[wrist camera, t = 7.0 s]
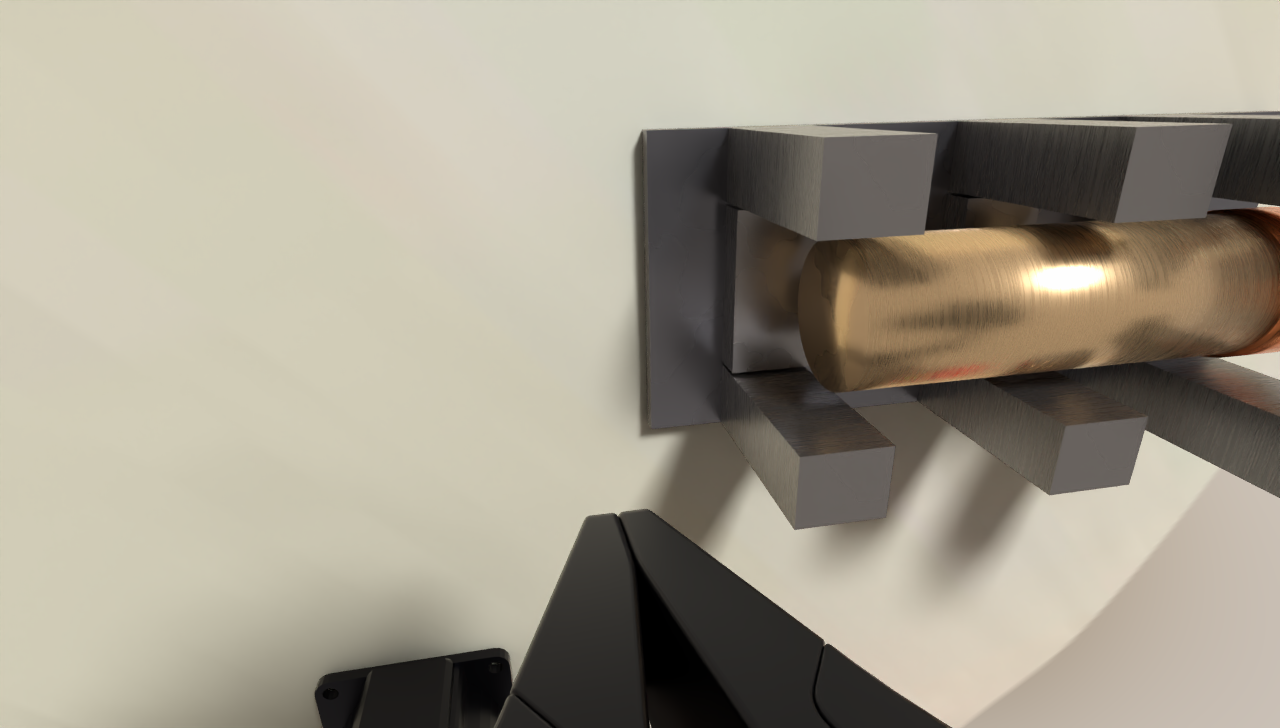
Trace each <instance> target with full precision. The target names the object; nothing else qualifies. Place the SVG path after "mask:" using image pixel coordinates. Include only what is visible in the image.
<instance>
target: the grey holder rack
mask: <svg viewBox="0 0 1280 728" xmlns="http://www.w3.org/2000/svg"><path fill="white" fill-rule="evenodd" d="M642 136H643V189H644V243H645V296H646V350H647V403H648V422H649V425H650V427H651V429H657V428H667V427H676V426H686V425H695V424H705V423H714V422H721V423H722V424H723V426H724V427H725V429H726V430H727V431H728V433H729V434H730V436H731V437H732V439H733V440H734V442H735V443H736V445H737V446H738V448H739V449H740V451H741V452H742V454H743V455H744V456H745V458H746V459H747V461H748V462H749V464H750V465H751V467H752V468H753V470H754V471H755V473H756V474H757V476H758V477H759V478H760V480H761V481H762V483H763V484H764V486H765V487H766V489H767V490H768V492H769V493H770V495H771V496H772V498H773V499H774V500H775V502H776V503H777V505H778V506H779V508H780V509H781V511H782V512H783V514H784V515H785V517H786V518H787V520H788V521H789V523H790V524H791V525H792V527H793V528H794V530H797V529H804V528H812V527H819V526H827V525H834V524H841V523H849V522H856V521H863V520H871V519H878V518H885V517H886V513H887V506H888V498H889V491H890V483H891V476H892V469H893V461H894V454H895V445H894V444H893V443H892V442H890V441H889V440H888V439H887V438H886V437H885V436H883V435H882V434H881V433H880V432H879V431H878V430H877V429H875V428H874V427H873V426H872V425H871V424H870V423H869V422H867V421H866V420H865V419H864V418H863V417H862V416H861V415H859V414H858V413H857V412H856V411H855V410H854V409H853V408H856V407H866V406H875V405H885V404H894V403H904V402H913V401H918V402H920V403H921V404H923V405H924V406H925V407H927V408H928V409H930V410H931V411H932V412H934V413H935V414H937V415H938V416H939V417H941V418H942V419H944V420H945V421H946V422H948V423H949V424H951V425H952V426H953V427H955V428H956V429H958V430H959V431H960V432H962V433H963V434H965V435H966V436H967V437H969V438H970V439H972V440H973V441H974V442H976V443H977V444H979V445H980V446H981V447H983V448H984V449H985V450H987V451H988V452H990V453H991V454H992V455H994V456H995V457H997V458H998V459H999V460H1001V461H1002V462H1004V463H1005V464H1006V465H1008V466H1009V467H1011V468H1012V469H1013V470H1015V471H1016V472H1018V473H1019V474H1020V475H1022V476H1023V477H1025V478H1026V479H1027V480H1029V481H1030V482H1032V483H1033V484H1034V485H1036V486H1037V487H1039V488H1040V489H1041V490H1043V491H1044V492H1046V493H1047V494H1048V495H1055V494H1062V493H1069V492H1077V491H1084V490H1092V489H1099V488H1106V487H1114V486H1121V485H1128V484H1129V483H1130V479H1131V476H1132V472H1133V469H1134V465H1135V462H1136V458H1137V455H1138V451H1139V448H1140V444H1141V441H1142V438H1143V434H1144V431H1145V430H1147V431H1149V432H1151V433H1153V434H1155V435H1156V436H1158V437H1160V438H1162V439H1164V440H1166V441H1168V442H1170V443H1172V444H1174V445H1176V446H1178V447H1180V448H1182V449H1184V450H1186V451H1188V452H1190V453H1192V454H1194V455H1196V456H1198V457H1200V458H1202V459H1204V460H1206V461H1208V462H1210V463H1212V464H1214V465H1216V466H1218V467H1220V468H1222V469H1224V470H1226V471H1228V472H1230V473H1232V474H1234V475H1235V476H1238V477H1239V478H1241V479H1243V480H1245V481H1247V482H1249V483H1251V484H1253V485H1255V486H1257V487H1259V488H1261V489H1263V490H1265V491H1267V492H1269V493H1271V494H1273V495H1275V496H1277V497H1279V498H1280V380H1278V379H1275V378H1272V377H1270V376H1267V375H1264V374H1261V373H1258V372H1255V371H1253V370H1250V369H1247V368H1244V367H1241V366H1239V365H1236V364H1233V363H1230V362H1227V361H1224V360H1222V359H1219V358H1211V357H1203V356H1196V357H1186V358H1177V359H1167V360H1157V361H1147V362H1137V363H1127V364H1117V365H1107V366H1097V367H1087V368H1078V369H1068V370H1058V371H1048V372H1038V373H1028V374H1018V375H1008V376H998V377H988V378H978V379H969V380H959V381H949V382H939V383H929V384H919V385H909V386H899V387H889V388H879V389H870V390H860V391H850V392H840V393H835V392H831V391H829V390H827V389H826V388H824V387H823V386H822V385H821V384H820V383H819V382H818V380H817V379H816V378H815V376H814V374H813V373H812V371H811V369H810V367H809V364H808V362H807V359H806V357H805V353H804V350H803V346H802V342H801V337H800V331H799V323H798V291H799V283H800V277H801V273H802V269H803V265H804V262H805V260H806V257H807V255H808V253H809V251H810V250H811V248H812V247H813V245H814V244H815V243H816V242H817V241H827V240H843V239H860V238H876V237H893V236H910V235H924V232H925V231H930V230H947V229H964V228H981V227H998V226H1015V225H1031V224H1048V223H1065V222H1082V221H1099V220H1100V221H1106V222H1111V223H1125V222H1142V221H1158V220H1175V219H1191V218H1206V215H1207V211H1212V210H1224V209H1241V208H1257V206H1258V203H1260V204H1268V205H1275V206H1280V111H1255V112H1221V113H1187V114H1153V115H1120V116H1086V117H1052V118H1018V119H984V120H950V121H916V122H882V123H848V124H814V125H780V126H746V127H712V128H678V129H644V130H642Z"/></svg>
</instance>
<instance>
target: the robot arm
mask: <svg viewBox="0 0 1280 728" xmlns="http://www.w3.org/2000/svg"><path fill="white" fill-rule="evenodd" d="M494 662H499V664H497V665H495V664H491V663H494ZM328 688H334V689H336V690H329V689H328ZM315 699H316V703H317V706H318V710H319V714H320V717H321V721H322V725H323V728H650V724H651V727H652V728H952V727H950V726H949V725H947V724H945V723H944V722H942V721H941V720H939V719H937V718H936V717H934V716H933V715H931V714H930V713H928V712H927V711H925V710H923V709H922V708H920V707H919V706H917V705H916V704H914V703H913V702H911V701H909V700H908V699H906V698H905V697H903V696H902V695H900V694H899V693H897V692H895V691H894V690H893V689H891V688H890V687H888V686H887V685H885V684H884V683H883V682H881V681H880V680H878V679H877V678H876V677H874V676H873V675H871V674H870V673H869V672H867V671H866V670H864V669H863V668H861V667H860V666H859V665H857V664H856V663H854V662H853V661H852V660H850V659H849V658H848V657H846V656H845V655H844V654H842V653H841V652H840V651H838V650H837V649H836V648H834V647H833V646H832V645H830V644H826V645H825V642H824V640H823V639H822V638H821V637H819V636H818V635H817V634H815V633H814V632H812V631H811V630H810V629H808V628H807V627H806V626H804V625H803V624H802V623H800V622H799V621H798V620H796V619H795V618H794V617H792V616H791V615H790V614H788V613H787V612H786V611H784V610H783V609H782V608H780V607H779V606H778V605H776V604H775V603H774V602H772V601H771V600H770V599H768V598H767V597H766V596H764V595H763V594H762V593H760V592H759V591H758V590H756V589H755V588H754V587H752V586H751V585H750V584H748V583H747V582H746V581H744V580H743V579H742V578H740V577H739V576H738V575H736V574H735V573H734V572H732V571H731V570H730V569H728V568H727V567H726V566H724V565H723V564H722V563H720V562H719V561H717V560H716V559H715V558H713V557H712V556H711V555H709V554H708V553H707V552H705V551H704V550H703V549H701V548H700V547H699V546H697V545H696V544H695V543H693V542H692V541H691V540H689V539H688V538H687V537H685V536H684V535H683V534H681V533H680V532H679V531H677V530H676V529H675V528H673V527H672V526H671V525H669V524H668V523H667V522H665V521H664V520H663V519H661V518H660V517H659V516H657V515H656V514H655V513H653V512H652V511H650V510H648V509H641V510H633V511H625V512H621V513H620V514H619V516H617V515H616V514H614V513H608V514H600V515H591V516H588V517H586V519H585V520H584V522H583V525H582V527H581V529H580V531H579V534H578V536H577V538H576V541H575V543H574V545H573V548H572V550H571V552H570V555H569V557H568V559H567V561H566V564H565V566H564V568H563V571H562V573H561V575H560V578H559V580H558V582H557V584H556V587H555V589H554V591H553V594H552V596H551V598H550V601H549V603H548V605H547V608H546V610H545V612H544V614H543V617H542V619H541V621H540V624H539V626H538V628H537V631H536V633H535V635H534V637H533V640H532V642H531V644H530V647H529V649H528V651H527V654H526V656H525V658H524V661H523V663H522V665H521V667H520V670H519V672H518V674H517V677H516V679H515V681H514V684H513V678H512V670H511V662H510V656H509V653H508V652H507V651H506V650H504V649H501V648H493V649H486V650H480V651H473V652H467V653H460V654H454V655H447V656H441V657H434V658H428V659H421V660H415V661H409V662H402V663H396V664H389V665H383V666H376V667H370V668H363V669H357V670H350V671H344V672H337V673H331V674H328V675H325V676H323V677H322V678H320V680H319V682H318V684H317V687H316V690H315ZM649 721H650V724H649Z"/></svg>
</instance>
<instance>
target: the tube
mask: <svg viewBox="0 0 1280 728" xmlns="http://www.w3.org/2000/svg"><path fill="white" fill-rule="evenodd" d="M798 323H799V331H800V337H801V342H802V346H803V350H804V353H805V357H806V359H807V362H808V364H809V367H810V369H811V371H812V373H813V374H814V376H815V378H816V379H817V380H818V382H819V383H820V384H821V385H822V386H823V387H824V388H826V389H827V390H829V391H831V392H835V393H840V392H850V391H860V390H870V389H879V388H889V387H899V386H909V385H919V384H929V383H939V382H949V381H959V380H969V379H978V378H988V377H998V376H1008V375H1018V374H1028V373H1038V372H1048V371H1058V370H1068V369H1078V368H1087V367H1097V366H1107V365H1117V364H1127V363H1137V362H1147V361H1157V360H1167V359H1177V358H1186V357H1196V356H1203V357H1211V358H1221V357H1231V356H1241V355H1251V354H1261V353H1270V352H1278V351H1280V207H1258V208H1241V209H1224V210H1212V211H1207V215H1206V218H1191V219H1175V220H1158V221H1142V222H1125V223H1111V222H1106V221H1100V220H1099V221H1082V222H1065V223H1048V224H1031V225H1015V226H998V227H981V228H964V229H947V230H930V231H925V232H924V235H910V236H893V237H876V238H860V239H843V240H827V241H817V242H816V243H815V244H814V245H813V247H812V248H811V250H810V251H809V253H808V255H807V257H806V260H805V262H804V265H803V269H802V273H801V277H800V283H799V291H798Z"/></svg>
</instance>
